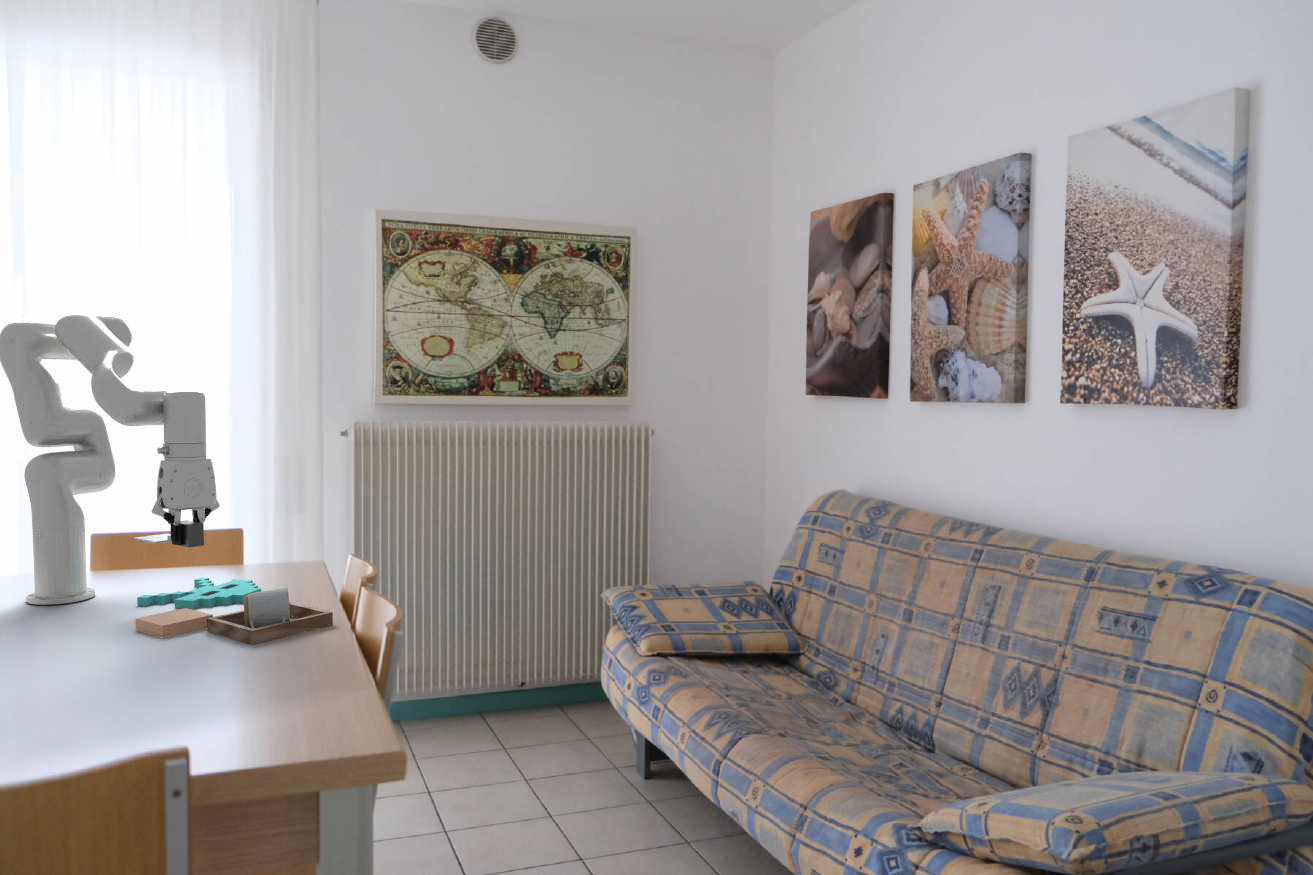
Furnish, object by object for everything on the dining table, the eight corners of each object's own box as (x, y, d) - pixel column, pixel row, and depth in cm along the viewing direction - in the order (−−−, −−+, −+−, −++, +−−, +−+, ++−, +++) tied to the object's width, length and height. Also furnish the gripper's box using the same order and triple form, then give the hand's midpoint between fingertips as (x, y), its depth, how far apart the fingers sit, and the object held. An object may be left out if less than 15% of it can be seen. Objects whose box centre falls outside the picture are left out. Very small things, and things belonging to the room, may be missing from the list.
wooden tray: (206, 631, 181) (206, 618, 181) (287, 613, 195) (286, 601, 195) (252, 644, 172) (252, 630, 172) (332, 624, 186) (332, 612, 186)
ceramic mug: (244, 626, 185) (243, 587, 184) (289, 622, 188) (288, 583, 187) (244, 641, 175) (243, 600, 174) (292, 636, 178) (291, 596, 178)
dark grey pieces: (213, 544, 192) (213, 521, 191) (178, 548, 186) (178, 525, 186) (168, 535, 203) (167, 514, 203) (134, 540, 198) (133, 518, 197)
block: (135, 618, 181) (162, 625, 176) (185, 608, 189) (212, 614, 185) (135, 632, 181) (162, 639, 176) (186, 621, 190) (212, 628, 185)
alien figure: (137, 607, 200) (222, 613, 196) (137, 597, 200) (221, 602, 196) (201, 587, 220) (279, 591, 216) (200, 577, 220) (279, 581, 216)
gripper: (152, 455, 181) (154, 551, 183) (234, 450, 194) (235, 540, 196) (133, 452, 186) (135, 546, 187) (215, 448, 199) (217, 535, 200)
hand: (187, 542), depth 191 cm, fingers closed on dark grey pieces, 3 cm apart
